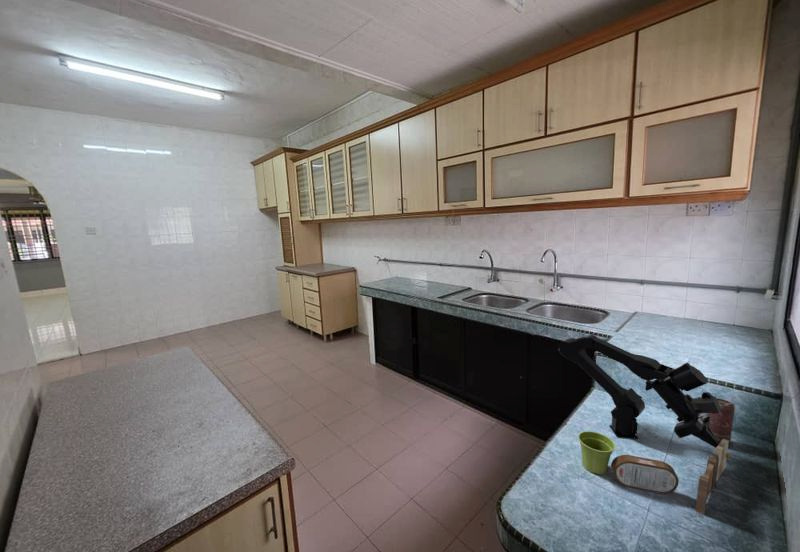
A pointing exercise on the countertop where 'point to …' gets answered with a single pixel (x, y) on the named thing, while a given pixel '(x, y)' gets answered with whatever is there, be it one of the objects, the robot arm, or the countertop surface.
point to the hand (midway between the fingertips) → (718, 447)
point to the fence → (706, 485)
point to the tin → (644, 474)
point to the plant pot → (595, 451)
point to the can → (722, 421)
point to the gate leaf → (720, 458)
